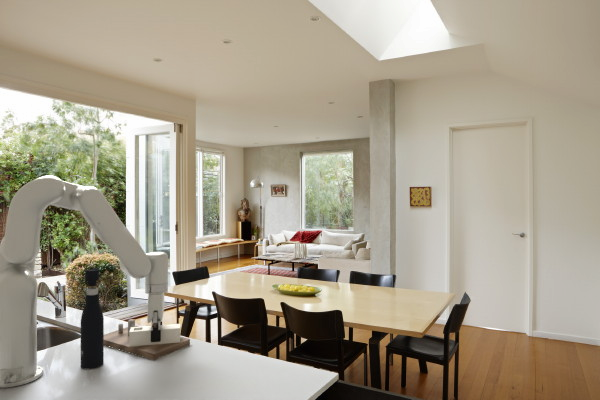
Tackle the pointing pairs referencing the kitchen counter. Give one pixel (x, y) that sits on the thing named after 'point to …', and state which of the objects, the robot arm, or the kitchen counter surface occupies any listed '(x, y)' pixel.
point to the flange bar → (143, 335)
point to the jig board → (153, 352)
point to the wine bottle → (92, 325)
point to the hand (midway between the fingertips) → (156, 337)
